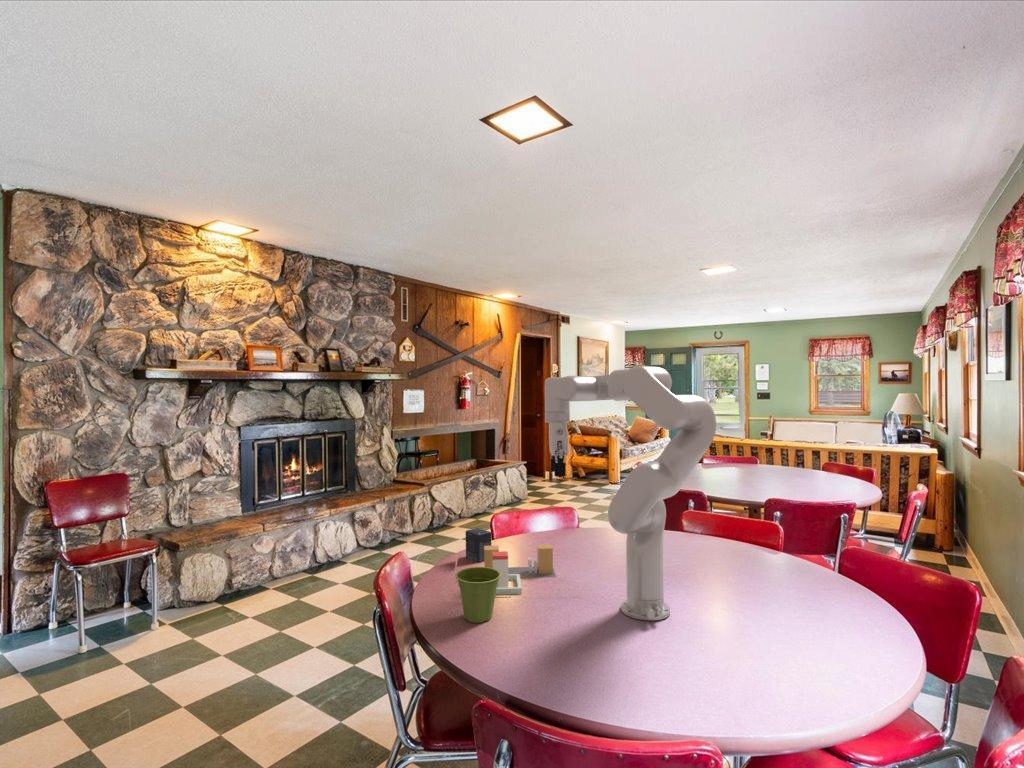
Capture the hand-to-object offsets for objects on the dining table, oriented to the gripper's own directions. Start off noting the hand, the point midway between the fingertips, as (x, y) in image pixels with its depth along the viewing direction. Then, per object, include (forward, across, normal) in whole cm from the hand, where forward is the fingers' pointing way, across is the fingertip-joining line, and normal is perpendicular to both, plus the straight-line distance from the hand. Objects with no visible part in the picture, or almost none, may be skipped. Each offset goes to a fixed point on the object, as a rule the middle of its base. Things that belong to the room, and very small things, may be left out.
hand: (558, 473), depth 163 cm
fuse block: (+33, +8, +12) cm, 36 cm away
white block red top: (+33, -4, +18) cm, 38 cm away
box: (+34, +23, +25) cm, 48 cm away
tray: (+33, -4, +18) cm, 38 cm away
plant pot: (+34, -23, +24) cm, 47 cm away
